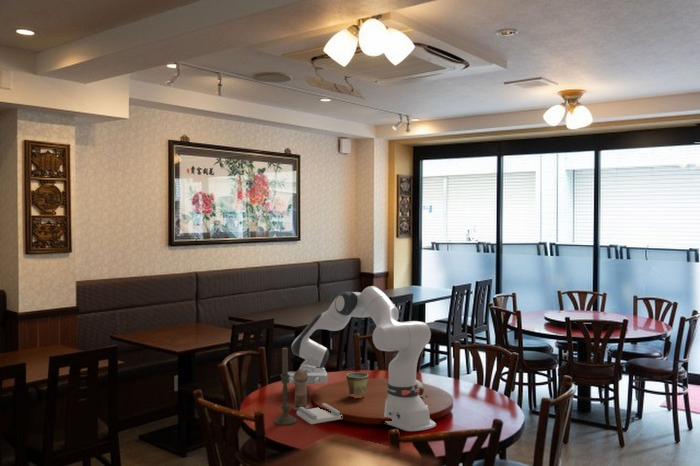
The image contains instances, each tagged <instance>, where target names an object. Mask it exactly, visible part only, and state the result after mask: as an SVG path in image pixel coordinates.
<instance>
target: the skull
mask: <svg viewBox="0 0 700 466" xmlns="http://www.w3.org/2000/svg"><path fill="white" fill-rule="evenodd" d="M416 384H417V386H418V389H420V390H418V391H420V392H419V395H422V394H423V393H424V390H425V389H424V386H423V383H422V382H421V381H420V380H418V379H416Z"/></svg>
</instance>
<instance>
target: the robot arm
mask: <svg viewBox="0 0 700 466" xmlns="http://www.w3.org/2000/svg"><path fill="white" fill-rule="evenodd" d="M399 316H400V313H399V309H398V308H397V306H396V305H395V304H394V302H393V301H392V300H391V299H390V298H389V297H388V295H387V294H385V292H384V291H383V290H381V289H380V288H378V287H377V286H375V285H371V286H367V287H365V288H364V289H363V290H362V291H361V292H359V291H342V292H340V293H338V295H336V297H335V298H334V300H333V301H332V302H331V304H330V305H329V307H328V309H327V310H326V311H324V312H319V313H317V314H316V315H315V316H314V317H313V318H312V320H311V321H310V322H309V323H308V324H307V326H306V327H305V328H304V329H303V330H302V331H301V332H300V334H298V336H297V337H296V338H295V339H294V340H293V342H292V343H291V347H290V348H291V353H292V354H293V355H294V356H297V357H299V358H301V359H304V361H303V362H302V363H301V364H300V367H299V369H298V370H304V371H305V372H306V373H307V375H308V379H307V386H308V385H311V384H313V385H315V384H327V383H328V371H326V364H327V363H328V359H329V356H330V352H329V349H328V348H327V347H325V346H324V345H322V344H320V343H318V342H316V341H314V340H313V339H311V338H310V336H312V334H313V333H314V332H315V331H316V330H327V331H330V332H331V331H332V332H335V331H340V330H343V329H344V328H345V327H346V326H347V325H348V323H349V322H350V321H351V318H352V317H353V318H371V319H372V321H373V323H374V324H375V326H376V327H375V329H374V330H373V331H372V332H373V333H372V342H373V344H374V347H375V348H376V349H378V351H383V352H396V351H398V352H397V354H396V356H395V357H394V358H393V359H392V360H391V361H390V362H389V364H388V382H387V387H386V390H387V397H386V399H385V403H384V415H383V418H384V417H388V418H391V419H392V421H385V422H386V423H387V424H386V423H385V424H386V425H389V426H392V427H395V428H397V429H400V430H403V431H405V432H418V431H419V432H420V431H426V430H429V429H433V428H434V427H436V426H437V423H436V422H435V421H434V420H432V419H431V418H430V410H429V409H430V408H429V405H428V404H425V402H424V401H423V398H420V396H419V392H420V391H418V390H420V389H418V386H417V384H416V380H417V366H418V361H419V358H420V355H421V353H422V351H423V349H424V348H425V347H426V346H427V345H428V344H429V342H430V340H431V338H432V337H431V336H432V331H431V329H430V326H429V325H428V324H427V322H424V321H418V320H410V321H408V320H407V321H398V320H399ZM295 372H296V371H288V374H289V375H290V377H289V383H288V384H292V385H295V380H294V374H295Z"/></svg>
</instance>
